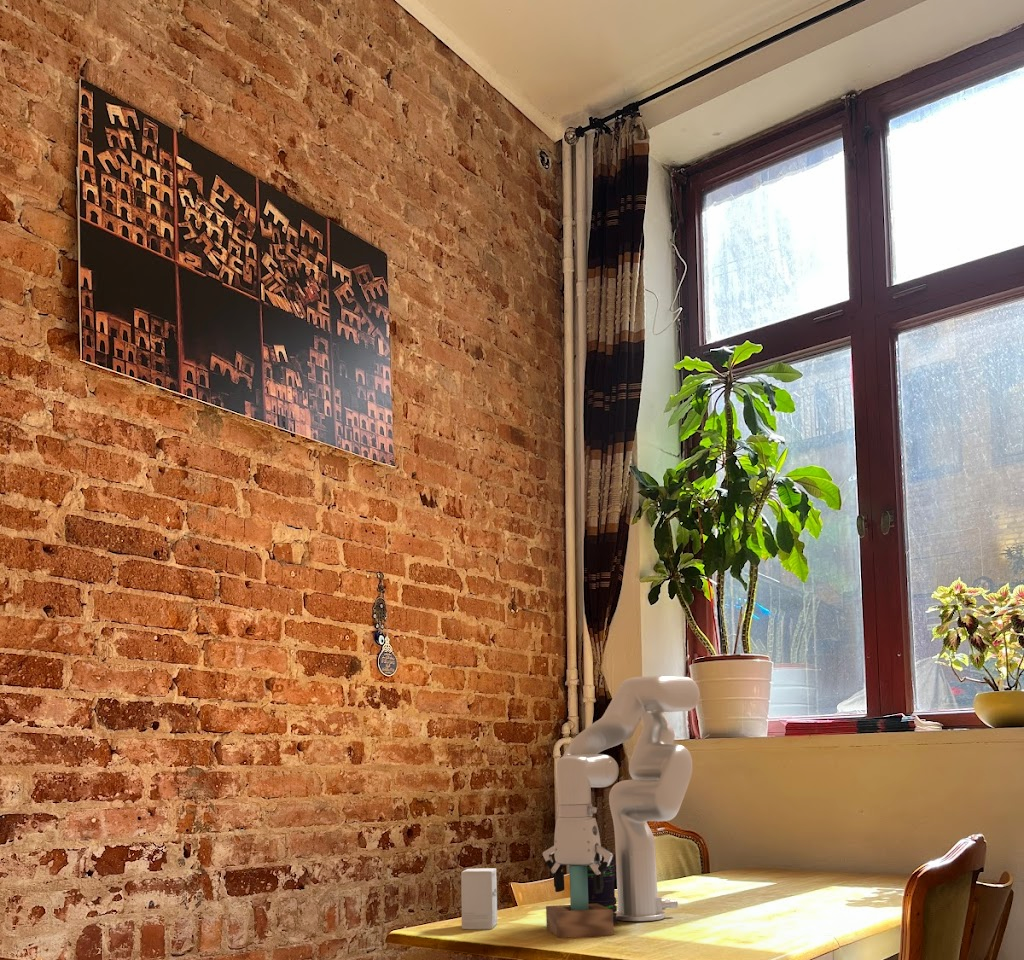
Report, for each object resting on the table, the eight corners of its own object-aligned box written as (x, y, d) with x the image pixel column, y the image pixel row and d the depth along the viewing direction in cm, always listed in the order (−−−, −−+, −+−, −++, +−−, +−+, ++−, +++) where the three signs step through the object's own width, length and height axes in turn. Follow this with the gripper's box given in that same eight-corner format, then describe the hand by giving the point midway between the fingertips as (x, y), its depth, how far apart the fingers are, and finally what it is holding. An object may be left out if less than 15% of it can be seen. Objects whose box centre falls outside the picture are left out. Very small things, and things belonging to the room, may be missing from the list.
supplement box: (492, 929, 256) (491, 871, 259) (460, 929, 257) (460, 871, 260) (498, 924, 263) (497, 867, 266) (467, 924, 264) (466, 867, 267)
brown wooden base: (598, 926, 256) (597, 903, 257) (613, 934, 245) (612, 910, 246) (546, 929, 253) (546, 906, 255) (560, 938, 242) (559, 913, 243)
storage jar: (574, 926, 257) (572, 858, 260) (574, 920, 266) (572, 853, 270) (618, 926, 256) (615, 857, 260) (616, 919, 266) (613, 853, 269)
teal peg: (586, 929, 252) (583, 863, 255) (591, 932, 248) (589, 865, 252) (569, 930, 251) (567, 864, 254) (574, 933, 247) (572, 866, 251)
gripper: (616, 811, 254) (621, 891, 250) (550, 810, 263) (553, 888, 259) (601, 814, 248) (606, 896, 244) (533, 813, 256) (536, 893, 253)
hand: (578, 892), depth 251 cm, fingers open, 9 cm apart
